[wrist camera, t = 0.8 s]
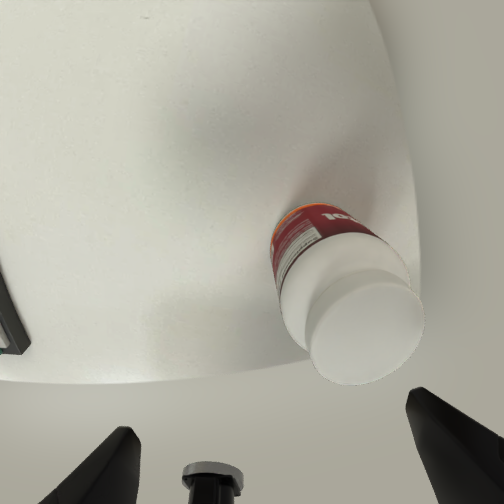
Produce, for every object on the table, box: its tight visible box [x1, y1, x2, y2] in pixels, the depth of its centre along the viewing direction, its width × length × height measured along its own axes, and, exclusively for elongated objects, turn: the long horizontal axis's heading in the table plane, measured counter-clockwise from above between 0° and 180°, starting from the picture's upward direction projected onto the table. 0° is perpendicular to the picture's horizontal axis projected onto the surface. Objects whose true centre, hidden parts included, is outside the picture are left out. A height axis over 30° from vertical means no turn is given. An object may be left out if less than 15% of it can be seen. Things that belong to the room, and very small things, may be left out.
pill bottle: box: [270, 203, 425, 386], centre depth 16 cm, size 6×6×11 cm
